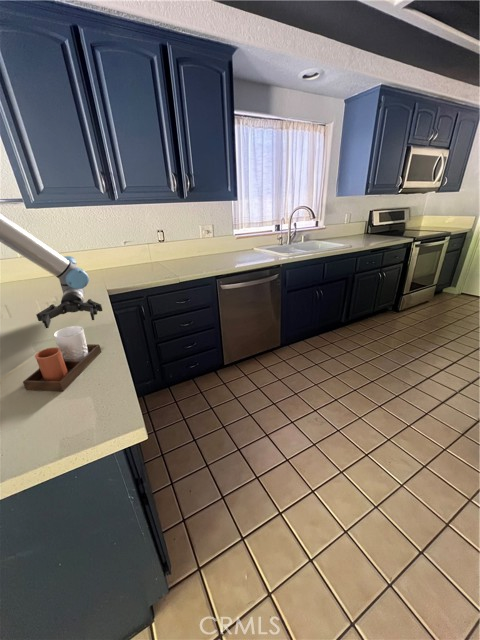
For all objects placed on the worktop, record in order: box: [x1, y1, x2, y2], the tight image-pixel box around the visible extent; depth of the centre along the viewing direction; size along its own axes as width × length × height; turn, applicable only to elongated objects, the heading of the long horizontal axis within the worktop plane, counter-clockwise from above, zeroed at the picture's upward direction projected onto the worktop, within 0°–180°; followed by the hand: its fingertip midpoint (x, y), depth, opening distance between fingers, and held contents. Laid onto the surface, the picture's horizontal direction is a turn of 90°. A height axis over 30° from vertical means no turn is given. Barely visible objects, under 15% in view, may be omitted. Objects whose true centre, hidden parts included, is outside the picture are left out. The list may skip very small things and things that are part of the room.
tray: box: [22, 343, 102, 392], centre depth 81 cm, size 10×20×3 cm, turn 178°
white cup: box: [53, 325, 88, 361], centre depth 83 cm, size 8×8×10 cm
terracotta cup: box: [34, 346, 68, 381], centre depth 75 cm, size 6×6×9 cm
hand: (69, 320), depth 89 cm, fingers open, 13 cm apart
